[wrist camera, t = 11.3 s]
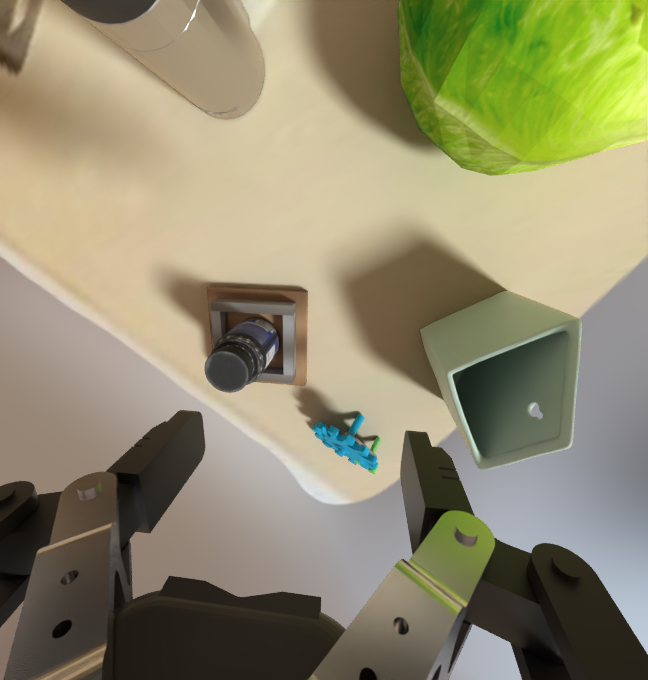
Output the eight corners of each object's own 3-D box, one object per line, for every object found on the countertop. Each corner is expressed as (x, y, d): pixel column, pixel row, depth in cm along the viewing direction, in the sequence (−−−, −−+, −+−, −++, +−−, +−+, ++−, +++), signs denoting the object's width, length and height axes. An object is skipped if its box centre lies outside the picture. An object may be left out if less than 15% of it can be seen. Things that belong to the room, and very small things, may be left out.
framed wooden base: (211, 286, 42) (198, 290, 39) (307, 291, 41) (303, 295, 38) (218, 375, 46) (207, 385, 43) (306, 382, 45) (302, 393, 42)
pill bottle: (228, 326, 42) (185, 355, 32) (268, 308, 41) (237, 334, 31) (250, 365, 44) (215, 406, 34) (289, 350, 43) (265, 388, 32)
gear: (298, 428, 46) (335, 435, 37) (319, 395, 48) (359, 394, 40) (349, 470, 49) (393, 485, 41) (366, 437, 52) (412, 445, 43)
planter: (448, 268, 38) (531, 301, 20) (510, 291, 38) (651, 345, 20) (394, 382, 44) (419, 492, 25) (448, 402, 44) (513, 527, 25)
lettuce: (543, 234, 36) (690, 235, 20) (347, 124, 35) (335, 30, 19) (677, 48, 30) (1046, -168, 14) (445, -94, 29) (555, -514, 13)
